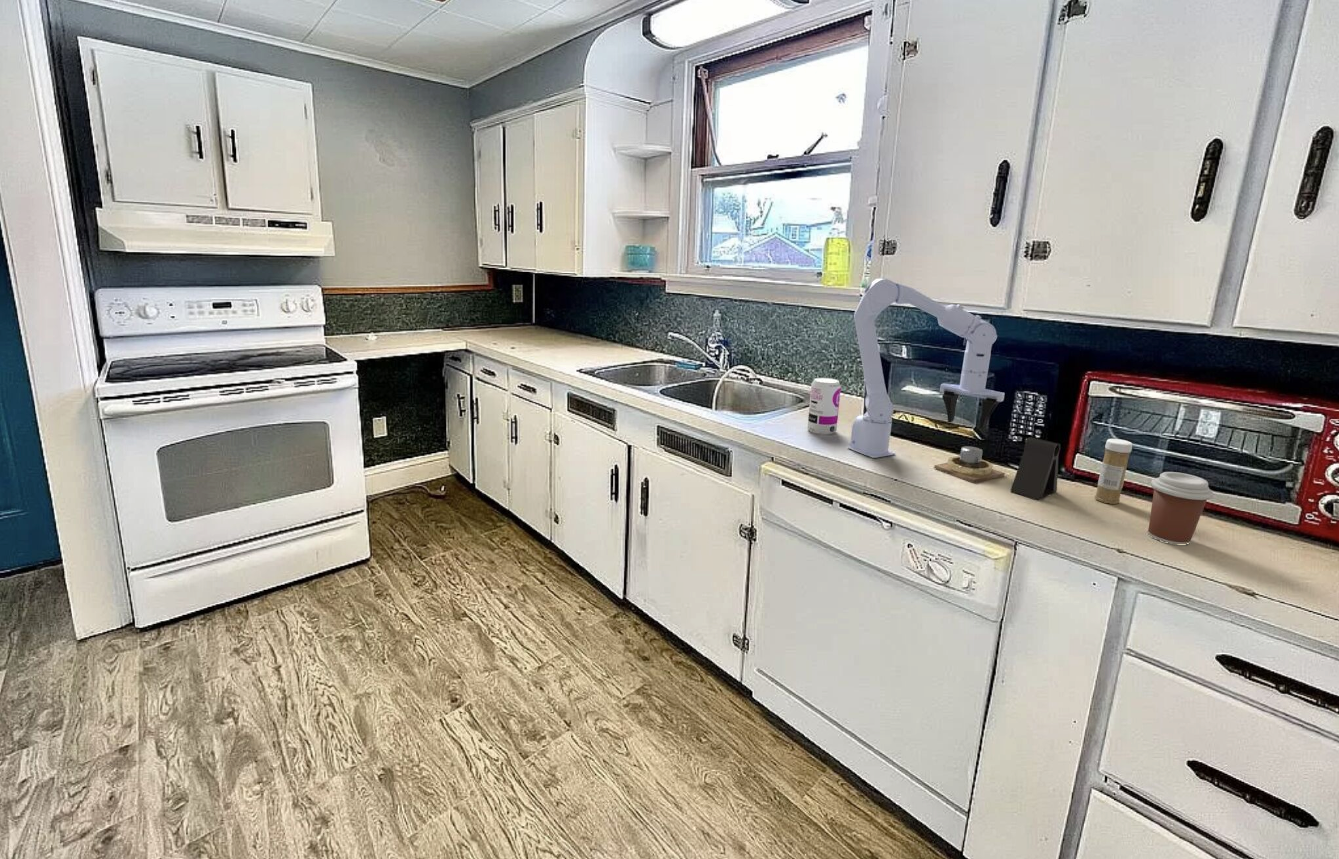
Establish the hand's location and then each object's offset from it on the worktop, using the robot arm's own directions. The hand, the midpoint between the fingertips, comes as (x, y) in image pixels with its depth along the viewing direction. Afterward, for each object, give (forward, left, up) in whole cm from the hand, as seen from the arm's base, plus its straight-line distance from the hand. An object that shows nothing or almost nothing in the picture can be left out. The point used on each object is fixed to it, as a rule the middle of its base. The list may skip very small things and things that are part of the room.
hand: (966, 424), depth 160 cm
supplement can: (-35, -15, -10) cm, 39 cm away
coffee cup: (+48, -3, -10) cm, 49 cm away
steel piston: (+7, -6, -9) cm, 13 cm away
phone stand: (+22, -4, -10) cm, 24 cm away
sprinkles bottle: (+32, +6, -10) cm, 34 cm away
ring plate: (+7, -6, -9) cm, 13 cm away
